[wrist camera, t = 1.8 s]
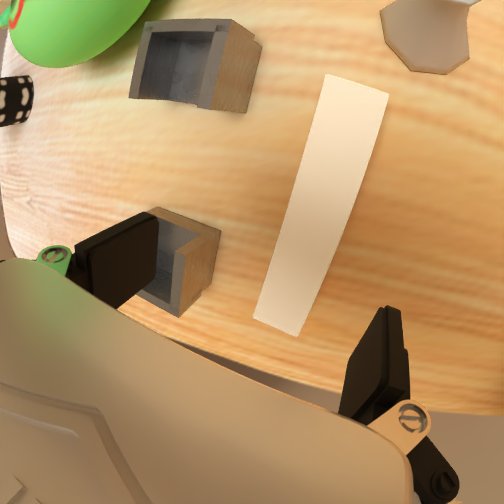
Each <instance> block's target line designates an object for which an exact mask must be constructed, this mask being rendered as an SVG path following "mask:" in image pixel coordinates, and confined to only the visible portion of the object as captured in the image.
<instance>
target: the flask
mask: <svg viewBox="0 0 504 504" xmlns="http://www.w3.org/2000/svg"><path fill="white" fill-rule="evenodd" d="M479 1H481V0H396V1H395V2H393V3H392V4H390V5H388V6H387V7H385V8H384V9H382V10H381V11H380V15H381V20H382V25H383V31H384V37H385V42H386V43H387V44H388V45H389V46H390V48H391V49H392V50H393V51H394V52H395V53H396V54H397V55H398V56H399V57H400V58H401V60H402V61H403V62H404V63H405V64H406V65H407V67H408V68H409V69H410V70H411V71H420V72H429V73H437V74H445V75H446V74H448V73H449V72H451V71H452V70H454V69H455V68H456V67H458V66H459V65H461V64H462V63H464V62H465V61H467V60H468V59H469V47H468V37H467V21H466V20H467V16H468V11H469V7H470V6H472V5H474V4H475V3H477V2H479Z"/></svg>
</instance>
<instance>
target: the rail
mask: <svg viewBox="0 0 504 504" xmlns="http://www.w3.org/2000/svg"><path fill="white" fill-rule="evenodd" d="M388 98H389V94H387V93H385V92H382V91H379V90H377V89H374V88H371V87H368V86H365V85H362V84H359V83H356V82H353V81H350V80H347V79H343V78H340V77H336V76H333V75H329V74H326V76H325V80H324V83H323V87H322V90H321V94H320V98H319V101H318V105H317V108H316V112H315V115H314V119H313V122H312V126H311V129H310V133H309V136H308V140H307V143H306V146H305V150H304V153H303V157H302V160H301V164H300V167H299V170H298V174H297V177H296V180H295V184H294V187H293V190H292V194H291V197H290V200H289V204H288V207H287V210H286V214H285V217H284V220H283V223H282V227H281V230H280V233H279V236H278V240H277V243H276V246H275V249H274V252H273V256H272V259H271V262H270V265H269V268H268V271H267V275H266V278H265V281H264V284H263V287H262V290H261V293H260V297H259V300H258V303H257V306H256V309H255V312H254V315H253V318H254V319H256V320H258V321H260V322H263V323H265V324H267V325H269V326H272V327H274V328H276V329H279V330H281V331H283V332H285V333H288V334H290V335H292V336H295V337H298V335H299V333H300V331H301V329H302V327H303V324H304V322H305V320H306V318H307V316H308V314H309V311H310V309H311V307H312V305H313V303H314V300H315V298H316V296H317V294H318V291H319V289H320V287H321V284H322V282H323V280H324V278H325V275H326V273H327V270H328V268H329V266H330V263H331V261H332V258H333V256H334V254H335V251H336V249H337V246H338V244H339V241H340V239H341V236H342V234H343V231H344V229H345V226H346V223H347V221H348V218H349V216H350V213H351V210H352V208H353V205H354V202H355V199H356V197H357V194H358V191H359V188H360V186H361V183H362V180H363V177H364V174H365V171H366V168H367V165H368V162H369V159H370V156H371V153H372V150H373V147H374V144H375V141H376V138H377V135H378V132H379V128H380V125H381V122H382V118H383V115H384V112H385V108H386V105H387V101H388Z"/></svg>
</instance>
